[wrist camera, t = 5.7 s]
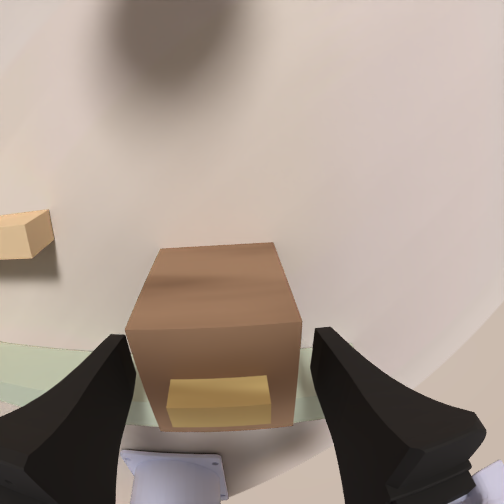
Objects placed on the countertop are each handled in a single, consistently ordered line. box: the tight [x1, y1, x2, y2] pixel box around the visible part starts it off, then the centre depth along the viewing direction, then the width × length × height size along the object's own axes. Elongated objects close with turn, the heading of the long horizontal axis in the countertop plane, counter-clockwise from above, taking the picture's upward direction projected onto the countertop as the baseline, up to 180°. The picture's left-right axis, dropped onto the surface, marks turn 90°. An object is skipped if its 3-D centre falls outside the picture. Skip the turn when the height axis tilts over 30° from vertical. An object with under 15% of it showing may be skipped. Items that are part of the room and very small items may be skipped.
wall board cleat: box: [0, 210, 354, 427], centre depth 13 cm, size 10×26×4 cm, turn 90°
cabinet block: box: [125, 242, 302, 432], centre depth 12 cm, size 5×5×7 cm
